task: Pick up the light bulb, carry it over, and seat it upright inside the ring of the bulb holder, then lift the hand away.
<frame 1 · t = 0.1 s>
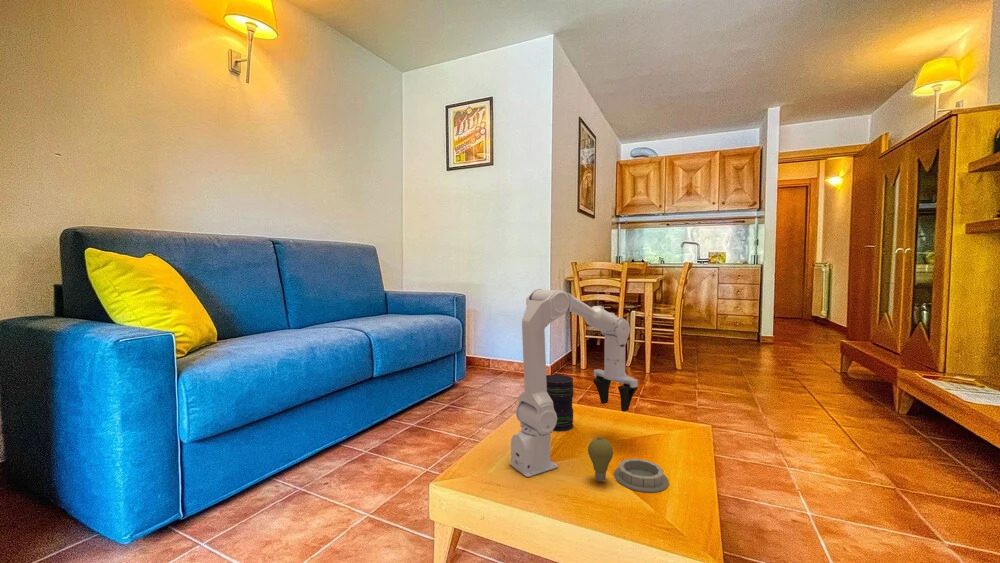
hand: (614, 406, 114), 10 cm above the table, tool pointing down, fingers open, 7 cm apart
light bulb: (600, 482, 92), on the table
bulb holder: (640, 478, 93), on the table
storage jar: (557, 426, 127), on the table
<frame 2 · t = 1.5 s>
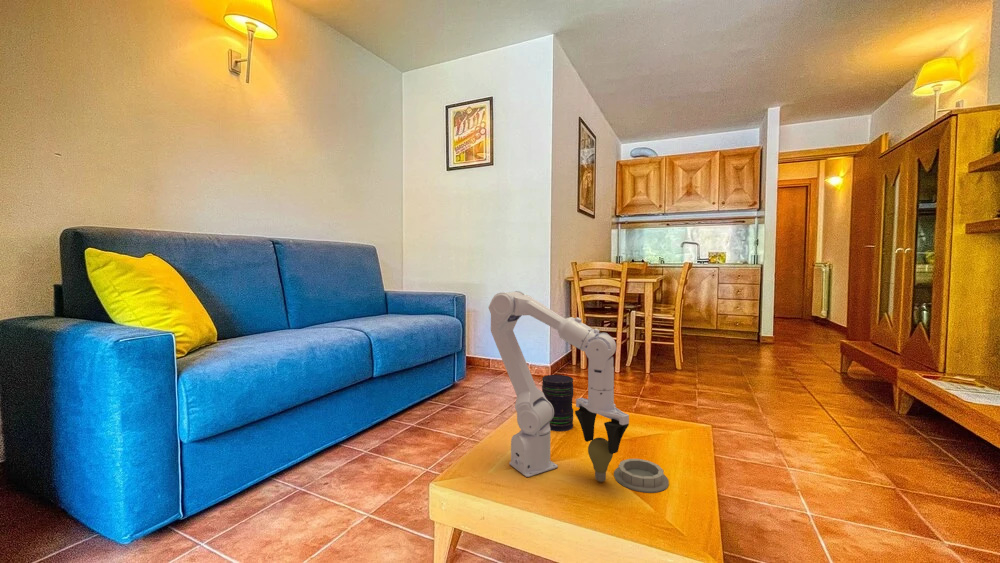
hand: (600, 446, 92), 8 cm above the table, tool pointing down, fingers open, 7 cm apart
nothing on the table moved.
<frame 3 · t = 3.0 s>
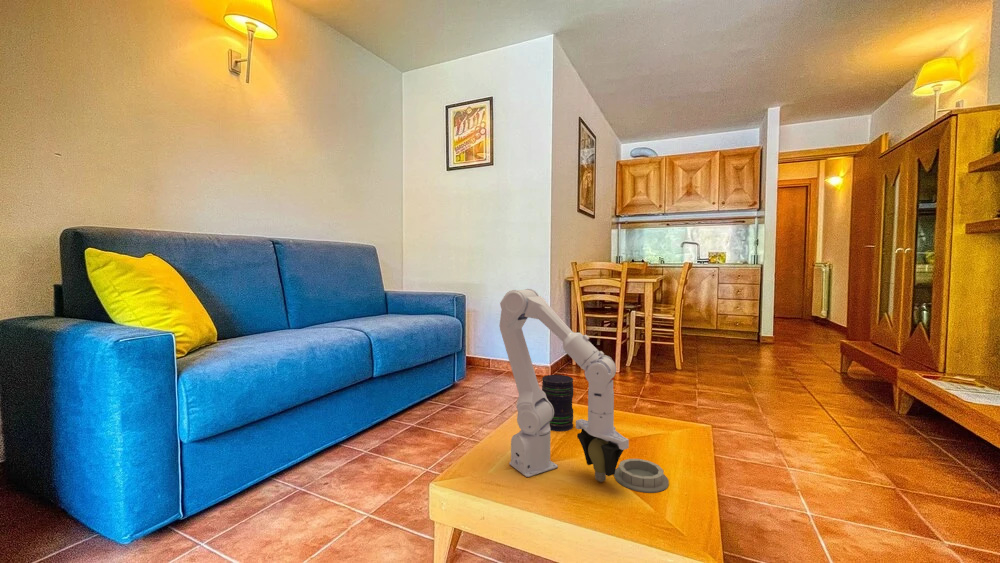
hand: (600, 469, 92), 3 cm above the table, tool pointing down, fingers closed on light bulb, 5 cm apart
light bulb: (600, 482, 92), on the table, touching gripper
everything else where it was.
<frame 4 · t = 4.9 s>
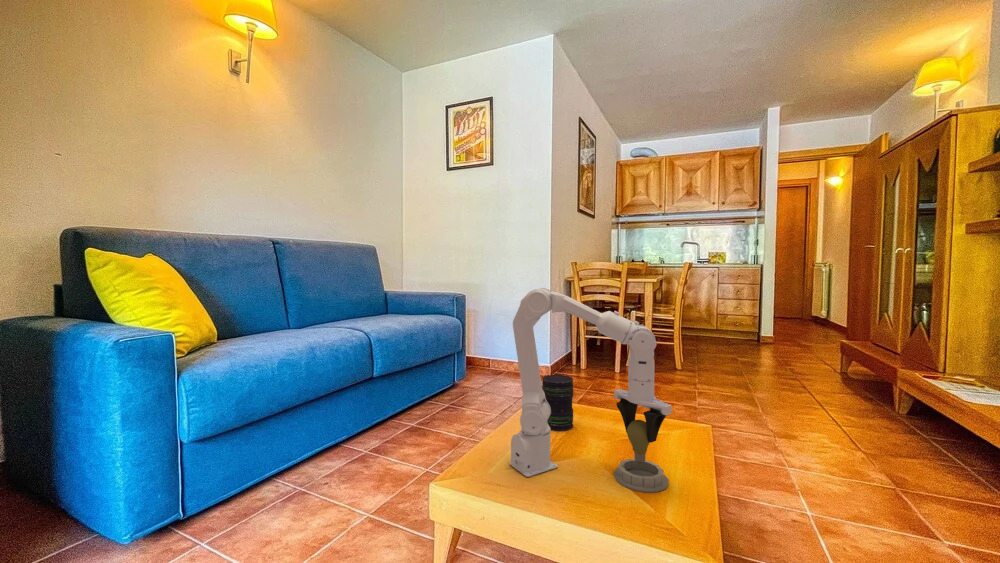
hand: (640, 436, 93), 10 cm above the table, tool pointing down, fingers closed on light bulb, 6 cm apart
light bulb: (639, 463, 93), point 4 cm above the table, touching gripper
everything else where it was.
when the fingers open (5 cm above the table, at t = 6.8 s): light bulb stays where it is, resting on bulb holder.
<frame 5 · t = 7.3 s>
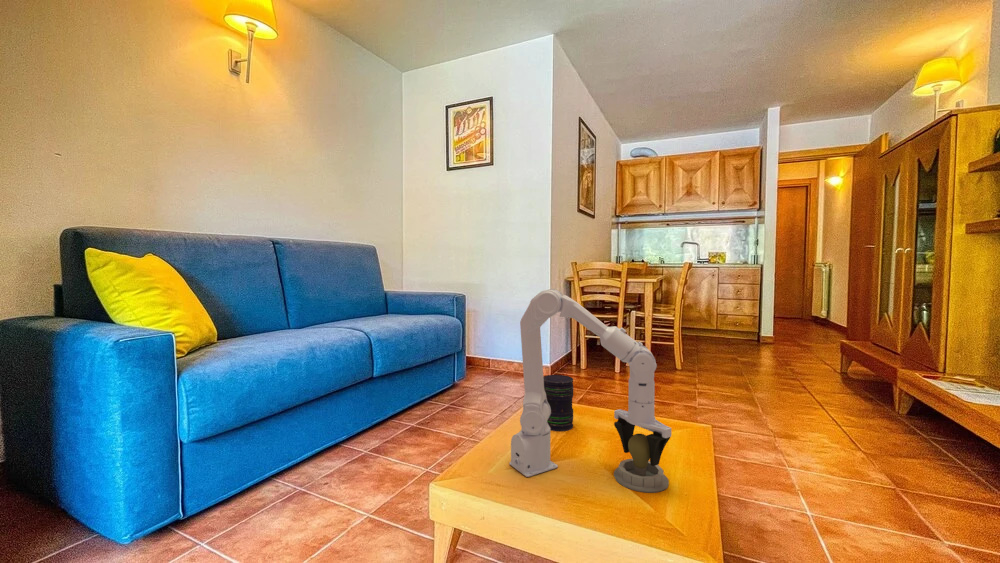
hand: (640, 457, 93), 5 cm above the table, tool pointing down, fingers open, 7 cm apart
light bulb: (640, 477, 93), resting on bulb holder
everything else where it was.
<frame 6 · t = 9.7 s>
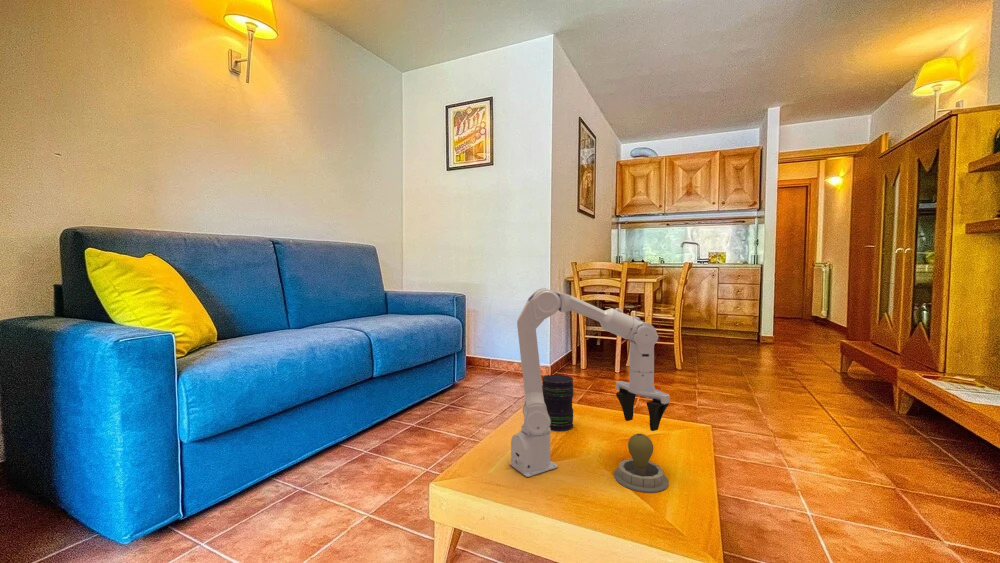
hand: (641, 424, 99), 10 cm above the table, tool pointing down, fingers open, 7 cm apart
nothing on the table moved.
at the end: light bulb 0.2 cm off-centre on the bulb holder, point 0.3 cm above the bulb holder's base; light bulb tilted 0°; the gripper is holding nothing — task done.
